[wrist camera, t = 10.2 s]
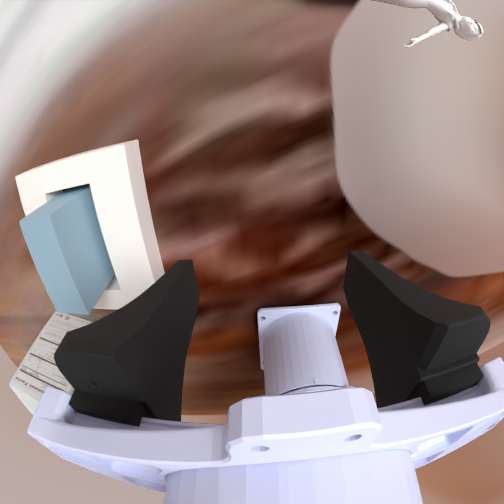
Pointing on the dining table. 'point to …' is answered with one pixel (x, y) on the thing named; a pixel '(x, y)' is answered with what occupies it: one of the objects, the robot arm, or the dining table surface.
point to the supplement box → (44, 362)
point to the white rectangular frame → (107, 212)
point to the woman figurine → (442, 19)
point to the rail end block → (69, 250)
